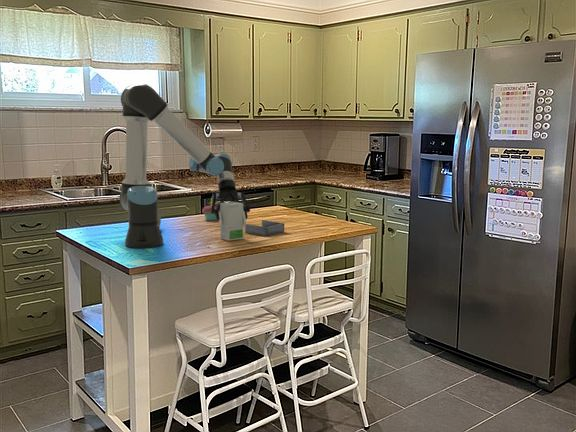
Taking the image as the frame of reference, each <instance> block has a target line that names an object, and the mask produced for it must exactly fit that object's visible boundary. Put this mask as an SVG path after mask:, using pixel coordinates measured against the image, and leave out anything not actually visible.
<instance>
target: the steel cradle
mask: <svg viewBox="0 0 576 432" xmlns="http://www.w3.org/2000/svg"><path fill="white" fill-rule="evenodd" d="M284 232H285V223H284V222H279V221H278V222H277V221H272V220H265V219H262V220H261V225H257V224H256V225H255V224H249V223H246V227H244V233H245V234H249V235H256V236H262V237H270V236H273V235H277V234H281V233H284Z"/></svg>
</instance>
